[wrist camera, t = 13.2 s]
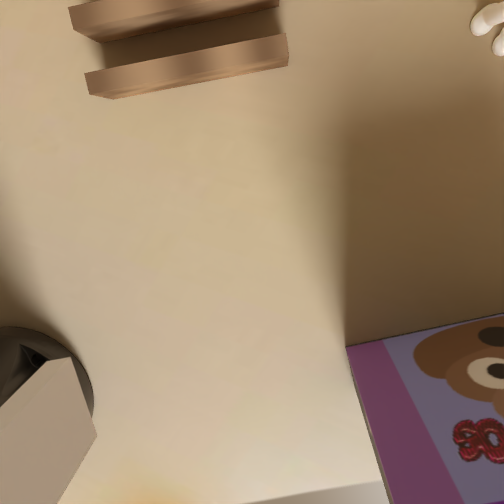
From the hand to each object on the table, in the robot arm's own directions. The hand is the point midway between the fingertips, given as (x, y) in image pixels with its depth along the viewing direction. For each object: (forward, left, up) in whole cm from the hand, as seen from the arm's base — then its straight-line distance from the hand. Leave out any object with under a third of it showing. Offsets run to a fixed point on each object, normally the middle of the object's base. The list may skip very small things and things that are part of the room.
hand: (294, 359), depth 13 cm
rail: (-5, +17, -28) cm, 33 cm away
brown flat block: (-5, +12, -28) cm, 31 cm away
